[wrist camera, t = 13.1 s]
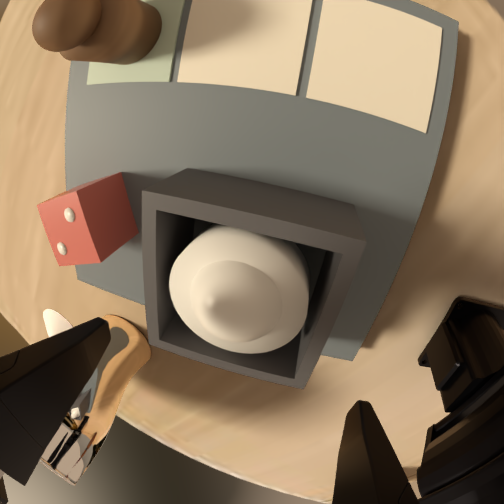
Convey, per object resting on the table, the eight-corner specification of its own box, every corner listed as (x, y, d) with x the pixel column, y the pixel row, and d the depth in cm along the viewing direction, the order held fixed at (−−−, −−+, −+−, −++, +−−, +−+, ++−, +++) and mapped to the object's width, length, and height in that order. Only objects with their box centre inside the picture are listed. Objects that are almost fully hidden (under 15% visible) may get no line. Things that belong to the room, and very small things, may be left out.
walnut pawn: (168, 0, 11) (86, -40, 5) (154, 64, 12) (60, 52, 7) (112, 8, 11) (27, -12, 5) (99, 66, 13) (8, 66, 7)
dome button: (325, 230, 13) (326, 280, 10) (294, 330, 17) (283, 390, 13) (196, 200, 14) (151, 236, 10) (189, 302, 17) (157, 352, 13)
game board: (448, 27, 9) (500, -1, 4) (351, 346, 20) (353, 414, 15) (98, -2, 12) (37, -17, 7) (88, 270, 22) (43, 309, 17)
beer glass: (86, 322, 26) (-2, 425, 13) (117, 300, 23) (7, 431, 10) (130, 370, 28) (61, 478, 15) (169, 357, 25) (91, 495, 12)
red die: (121, 171, 16) (75, 191, 12) (138, 232, 18) (100, 263, 14) (79, 185, 17) (36, 205, 13) (96, 239, 19) (58, 266, 15)
